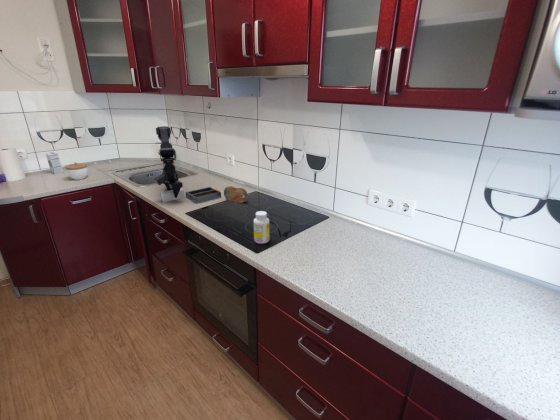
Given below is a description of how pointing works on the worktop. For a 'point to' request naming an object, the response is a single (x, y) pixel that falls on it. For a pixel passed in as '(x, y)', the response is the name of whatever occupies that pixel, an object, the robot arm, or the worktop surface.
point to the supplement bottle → (261, 227)
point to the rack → (203, 194)
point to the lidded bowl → (77, 170)
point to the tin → (235, 194)
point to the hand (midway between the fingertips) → (172, 195)
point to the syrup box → (54, 163)
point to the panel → (171, 195)
